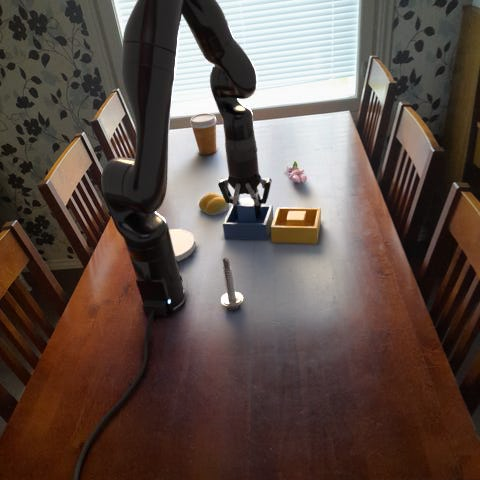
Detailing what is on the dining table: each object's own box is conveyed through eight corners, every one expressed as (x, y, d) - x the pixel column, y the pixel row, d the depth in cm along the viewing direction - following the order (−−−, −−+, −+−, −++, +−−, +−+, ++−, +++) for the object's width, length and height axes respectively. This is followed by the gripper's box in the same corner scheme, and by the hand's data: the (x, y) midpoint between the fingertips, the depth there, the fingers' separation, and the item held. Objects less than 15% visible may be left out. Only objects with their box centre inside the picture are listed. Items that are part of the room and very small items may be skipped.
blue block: (255, 221, 119) (253, 206, 116) (238, 221, 120) (236, 206, 117) (258, 212, 122) (256, 197, 119) (242, 212, 123) (240, 197, 120)
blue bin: (267, 239, 119) (266, 224, 116) (224, 238, 121) (222, 223, 118) (273, 220, 126) (272, 205, 123) (233, 219, 128) (231, 204, 125)
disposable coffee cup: (191, 150, 169) (185, 117, 161) (214, 143, 172) (210, 110, 164) (200, 158, 163) (194, 124, 155) (224, 151, 165) (220, 117, 157)
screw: (222, 300, 102) (243, 298, 102) (222, 314, 99) (244, 312, 98) (213, 252, 93) (237, 249, 93) (213, 265, 90) (237, 263, 90)
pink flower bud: (282, 176, 148) (292, 189, 135) (280, 158, 145) (291, 169, 132) (301, 173, 148) (312, 186, 135) (299, 155, 145) (312, 166, 132)
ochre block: (304, 235, 117) (303, 220, 114) (286, 234, 118) (286, 219, 115) (306, 226, 121) (306, 211, 118) (289, 225, 122) (288, 210, 119)
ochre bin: (316, 243, 115) (317, 228, 112) (271, 242, 118) (270, 227, 115) (320, 222, 122) (320, 207, 119) (278, 221, 125) (277, 207, 122)
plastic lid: (139, 246, 123) (136, 238, 121) (188, 232, 126) (186, 224, 124) (150, 273, 113) (147, 264, 111) (203, 257, 116) (201, 248, 114)
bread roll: (214, 218, 130) (212, 206, 127) (195, 209, 135) (193, 196, 133) (235, 207, 133) (234, 195, 131) (217, 198, 139) (215, 186, 136)
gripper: (209, 160, 109) (219, 223, 120) (267, 160, 105) (272, 224, 117) (217, 148, 114) (226, 209, 125) (273, 146, 111) (277, 209, 122)
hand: (248, 216), depth 121 cm, fingers closed on blue block, 4 cm apart
